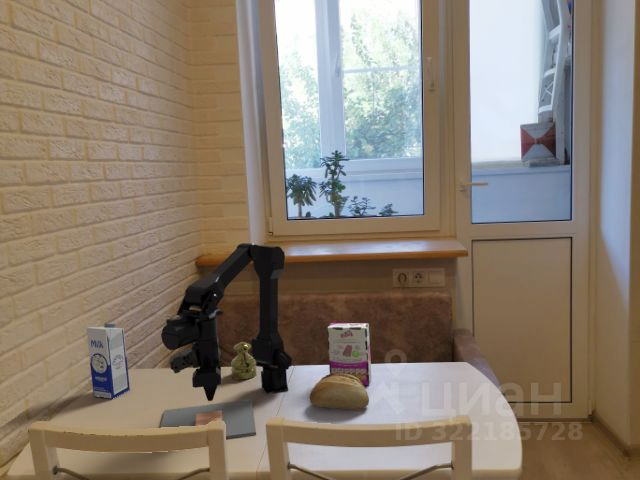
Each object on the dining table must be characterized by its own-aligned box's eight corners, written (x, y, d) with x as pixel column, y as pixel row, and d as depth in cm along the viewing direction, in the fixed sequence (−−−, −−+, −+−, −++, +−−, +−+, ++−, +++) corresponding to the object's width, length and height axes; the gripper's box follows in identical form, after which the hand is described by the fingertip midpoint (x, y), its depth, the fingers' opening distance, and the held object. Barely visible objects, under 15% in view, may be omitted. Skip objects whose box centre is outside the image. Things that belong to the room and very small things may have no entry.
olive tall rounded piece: (261, 371, 158) (258, 339, 157) (249, 381, 151) (247, 347, 150) (239, 369, 161) (236, 338, 159) (227, 379, 154) (224, 346, 152)
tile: (221, 410, 128) (221, 425, 121) (222, 416, 129) (222, 432, 121) (196, 413, 127) (194, 429, 120) (197, 419, 128) (195, 435, 120)
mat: (251, 401, 138) (251, 399, 138) (256, 434, 120) (256, 432, 120) (164, 412, 134) (164, 410, 134) (156, 448, 116) (156, 445, 116)
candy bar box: (371, 378, 149) (369, 322, 147) (369, 386, 144) (367, 327, 142) (333, 377, 151) (330, 321, 149) (329, 384, 146) (326, 327, 144)
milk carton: (93, 396, 146) (85, 326, 143) (111, 387, 152) (104, 319, 149) (113, 399, 143) (105, 328, 141) (130, 389, 149) (123, 321, 147)
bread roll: (313, 397, 139) (312, 368, 137) (370, 398, 136) (369, 369, 135) (307, 414, 129) (305, 383, 128) (368, 416, 127) (367, 384, 126)
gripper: (173, 329, 131) (178, 389, 133) (165, 354, 113) (172, 422, 115) (218, 324, 133) (223, 383, 135) (218, 348, 115) (223, 416, 117)
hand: (210, 400), depth 125 cm, fingers closed
